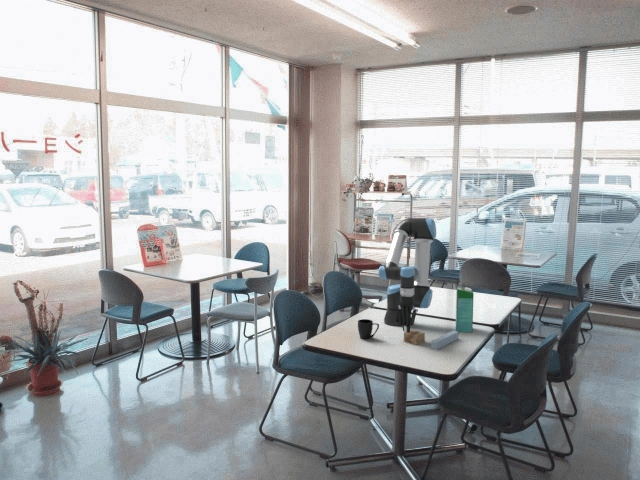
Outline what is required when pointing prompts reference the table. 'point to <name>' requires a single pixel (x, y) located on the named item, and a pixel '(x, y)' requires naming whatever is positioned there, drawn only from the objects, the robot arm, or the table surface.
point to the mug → (366, 328)
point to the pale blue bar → (444, 340)
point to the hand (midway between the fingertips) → (406, 337)
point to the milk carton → (464, 309)
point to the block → (414, 337)
